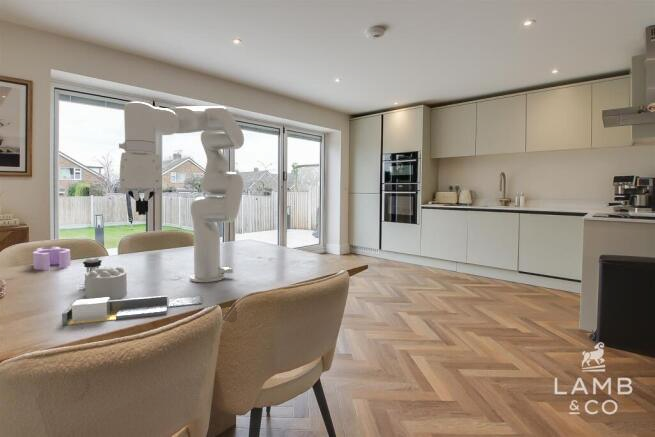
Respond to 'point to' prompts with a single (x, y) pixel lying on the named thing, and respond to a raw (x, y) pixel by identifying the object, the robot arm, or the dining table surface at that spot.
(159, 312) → the rail
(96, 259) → the push button
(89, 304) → the clip block
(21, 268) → the dining table surface
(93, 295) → the lumpy-topped squat cylinder
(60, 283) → the dining table surface
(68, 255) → the purple lobed block
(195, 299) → the tab
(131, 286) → the dining table surface
